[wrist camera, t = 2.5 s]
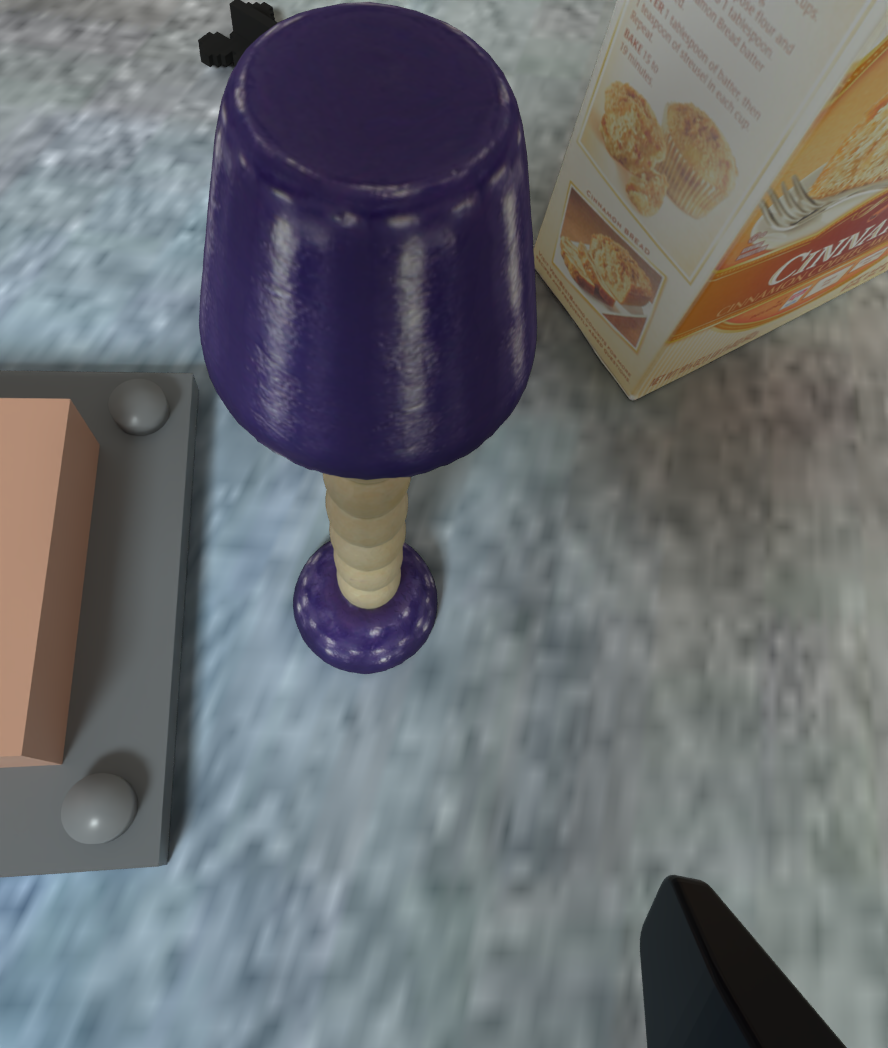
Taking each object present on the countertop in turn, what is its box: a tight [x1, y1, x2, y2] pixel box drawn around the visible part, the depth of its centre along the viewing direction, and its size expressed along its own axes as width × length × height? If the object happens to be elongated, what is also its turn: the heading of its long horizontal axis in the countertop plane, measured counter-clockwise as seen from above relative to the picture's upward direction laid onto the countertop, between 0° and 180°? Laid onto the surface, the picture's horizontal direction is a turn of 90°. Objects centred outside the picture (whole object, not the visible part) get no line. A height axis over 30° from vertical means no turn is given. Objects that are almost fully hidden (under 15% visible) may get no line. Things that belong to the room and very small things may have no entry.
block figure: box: [198, 0, 278, 67], centre depth 30 cm, size 6×2×6 cm
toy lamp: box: [199, 2, 537, 674], centre depth 15 cm, size 5×5×17 cm
